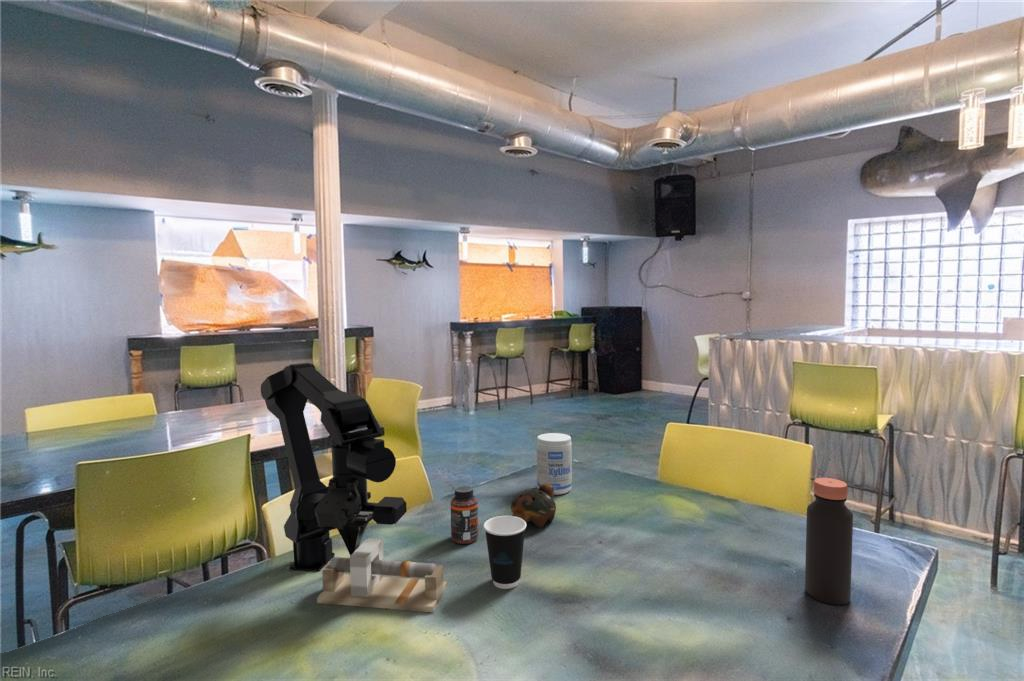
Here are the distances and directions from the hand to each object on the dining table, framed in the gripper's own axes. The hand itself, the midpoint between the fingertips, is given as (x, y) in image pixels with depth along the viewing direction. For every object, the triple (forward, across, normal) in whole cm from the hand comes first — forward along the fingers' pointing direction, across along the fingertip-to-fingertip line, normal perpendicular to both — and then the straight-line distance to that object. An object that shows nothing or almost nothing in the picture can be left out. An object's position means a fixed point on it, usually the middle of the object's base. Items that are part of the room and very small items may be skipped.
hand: (353, 554), depth 93 cm
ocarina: (+7, +28, +33) cm, 44 cm away
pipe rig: (+7, +5, 0) cm, 9 cm away
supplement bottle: (+7, +14, +23) cm, 28 cm away
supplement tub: (+7, +31, +55) cm, 64 cm away
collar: (+6, +3, 0) cm, 6 cm away
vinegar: (+7, +82, +11) cm, 83 cm away
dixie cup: (+7, +26, +7) cm, 28 cm away
